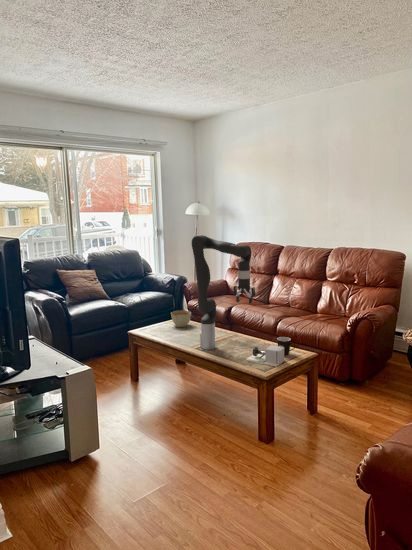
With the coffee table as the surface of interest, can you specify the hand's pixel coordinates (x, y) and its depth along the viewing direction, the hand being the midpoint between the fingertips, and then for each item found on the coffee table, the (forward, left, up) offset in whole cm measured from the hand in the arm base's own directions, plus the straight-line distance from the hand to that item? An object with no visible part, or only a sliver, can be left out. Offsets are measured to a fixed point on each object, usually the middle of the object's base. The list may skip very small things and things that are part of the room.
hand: (244, 302), depth 258 cm
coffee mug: (+24, +9, -33) cm, 42 cm away
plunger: (+17, -7, -31) cm, 36 cm away
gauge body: (+17, -6, -33) cm, 38 cm away
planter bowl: (-73, +33, -33) cm, 87 cm away
